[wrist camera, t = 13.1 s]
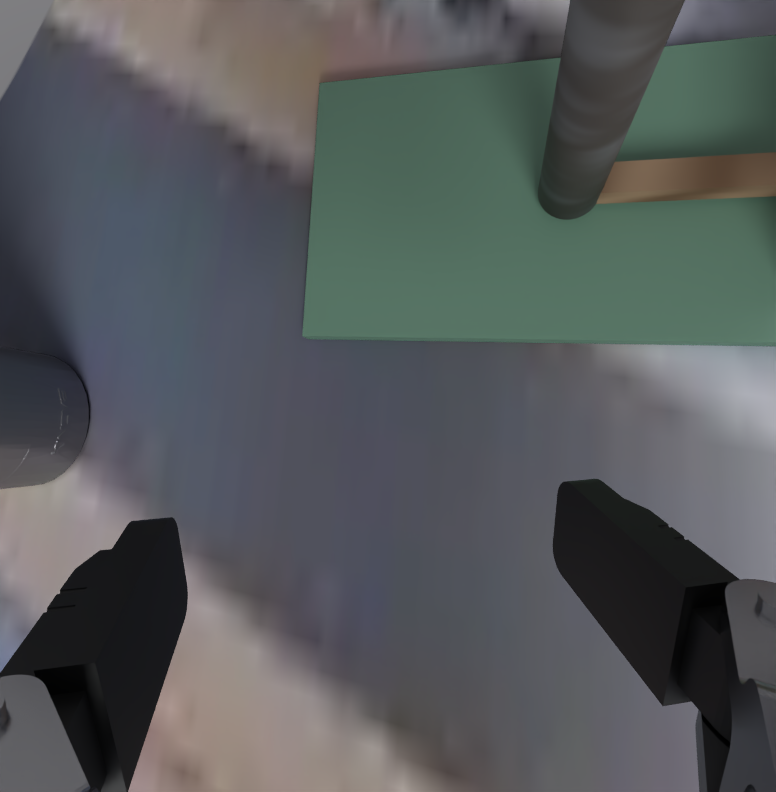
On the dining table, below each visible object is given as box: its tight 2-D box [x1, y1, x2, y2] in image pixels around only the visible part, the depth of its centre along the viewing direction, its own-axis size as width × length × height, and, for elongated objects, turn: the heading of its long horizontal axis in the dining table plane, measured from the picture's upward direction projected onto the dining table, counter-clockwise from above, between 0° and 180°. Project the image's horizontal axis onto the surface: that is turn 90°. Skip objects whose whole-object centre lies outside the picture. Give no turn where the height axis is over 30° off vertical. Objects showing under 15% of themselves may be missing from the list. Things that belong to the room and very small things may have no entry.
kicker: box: [538, 0, 776, 220], centre depth 19 cm, size 15×5×13 cm, turn 87°
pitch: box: [302, 35, 776, 346], centre depth 27 cm, size 34×16×1 cm, turn 87°
